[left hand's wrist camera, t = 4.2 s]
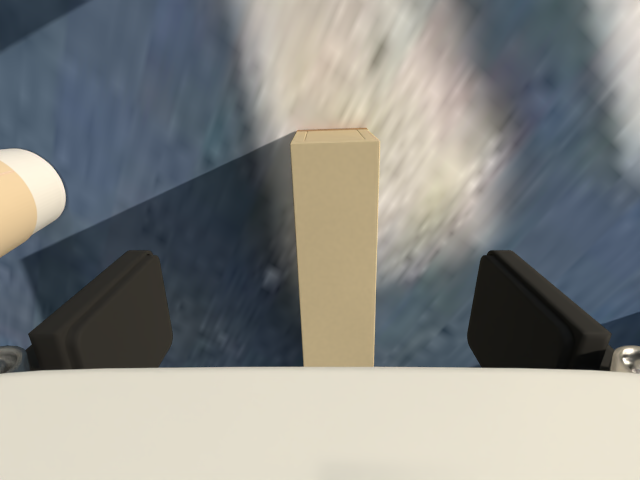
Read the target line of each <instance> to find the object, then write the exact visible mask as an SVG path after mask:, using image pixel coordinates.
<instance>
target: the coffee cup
mask: <svg viewBox="0 0 640 480" xmlns="http://www.w3.org/2000/svg"><path fill="white" fill-rule="evenodd" d="M65 201H66V196H65V190H64V186H63V183H62V181H61V179H60V177H59V176H58V174H57V173H56V171H55V170H54V169H53V168H52V166H51V165H50V164H49V163H47V162H46V161H45V160H44V159H42V158H41V157H39V156H38V155H36V154H34V153H32V152H29V151H26V150H22V149H3V150H0V257H2V256H3V255H5V254H6V253H8V252H10V251H11V250H13V249H14V248H16V247H17V246H19V245H20V244H22V243H24V242H25V241H26V240H27V239H28V238H29V237H30V236H31V235H32V234H34V233H36V232H37V231H39V230H40V229H42V228H43V227H45V226H47V225H48V224H50V223H51V222H53V221H55V220H56V219H57V218H58V217H59V216H60V215H61V213H62V212H63V209H64V207H65Z"/></svg>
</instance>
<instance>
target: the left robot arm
mask: <svg viewBox="0 0 640 480" xmlns="http://www.w3.org/2000/svg"><path fill="white" fill-rule="evenodd" d="M28 335H29V337H30V340H31V343H32V345H31V346H30V347H29V348H27V349H26V350H24V349H23V348H21V347H18V346H0V480H640V346H622V347H619V348H617V349H616V350H614V349H613V348H611V347H610V346H609V345H608V343H609V340H610V337H611V335H612V334H611V333H610V332H609V331H608V330H607V329H605V328H604V327H603V326H602V325H601V324H599V323H598V322H597V321H596V320H595V319H593V318H592V317H591V316H590V315H589V314H587V313H586V312H585V311H584V310H583V309H581V308H580V307H579V306H578V305H577V304H575V303H574V302H573V301H572V300H571V299H569V298H568V297H567V296H566V295H565V294H563V293H562V292H561V291H560V290H559V289H557V288H556V287H555V286H554V285H553V284H551V283H550V282H549V281H548V280H547V279H545V278H544V277H543V276H542V275H541V274H539V273H538V272H537V271H536V270H535V269H533V268H532V267H531V266H530V265H529V264H527V263H526V262H525V261H524V260H523V259H521V258H520V257H519V256H518V255H517V254H515V253H514V252H513V251H511V250H492V251H489V252H488V254H487V255H483V256H482V258H481V260H480V265H479V271H478V276H477V282H476V288H475V293H474V299H473V304H472V310H471V316H470V321H469V327H468V333H467V339H468V344H469V346H470V348H471V350H472V351H473V353H474V355H475V357H476V358H477V360H478V362H479V363H480V365H481V367H482V368H439V367H196V368H158V367H159V365H160V363H161V362H162V360H163V358H164V357H165V355H166V353H167V351H168V350H169V348H170V346H171V344H172V339H173V333H172V327H171V321H170V316H169V310H168V304H167V299H166V293H165V288H164V282H163V276H162V271H161V265H160V260H159V258H158V256H157V255H153V254H152V252H151V251H148V250H129V251H127V252H126V253H125V254H123V255H122V256H121V257H120V258H119V259H117V260H116V261H115V262H114V263H113V264H111V265H110V266H109V267H108V268H107V269H105V270H104V271H103V272H102V273H101V274H99V275H98V276H97V277H96V278H95V279H93V280H92V281H91V282H90V283H89V284H87V285H86V286H85V287H84V288H83V289H81V290H80V291H79V292H78V293H77V294H75V295H74V296H73V297H72V298H71V299H69V300H68V301H67V302H66V303H65V304H63V305H62V306H61V307H60V308H59V309H57V310H56V311H55V312H54V313H53V314H51V315H50V316H49V317H48V318H47V319H45V320H44V321H43V322H42V323H41V324H39V325H38V326H37V327H36V328H35V329H33V330H32V331H31V332H30V333H29V334H28Z"/></svg>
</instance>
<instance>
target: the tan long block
mask: <svg viewBox="0 0 640 480" xmlns="http://www.w3.org/2000/svg"><path fill="white" fill-rule="evenodd" d="M290 151H291V168H292V184H293V201H294V217H295V233H296V250H297V266H298V282H299V299H300V315H301V331H302V348H303V364H304V367H374V333H375V298H376V263H377V228H378V193H379V158H380V140H378V139H377V138H376V137H375V136H374V135H373V134H372V133H370V132H369V131H368V129H367V128H349V129H318V130H297V131H296V134H295V136H294V138H293V139H292V141H291V143H290Z"/></svg>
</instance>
